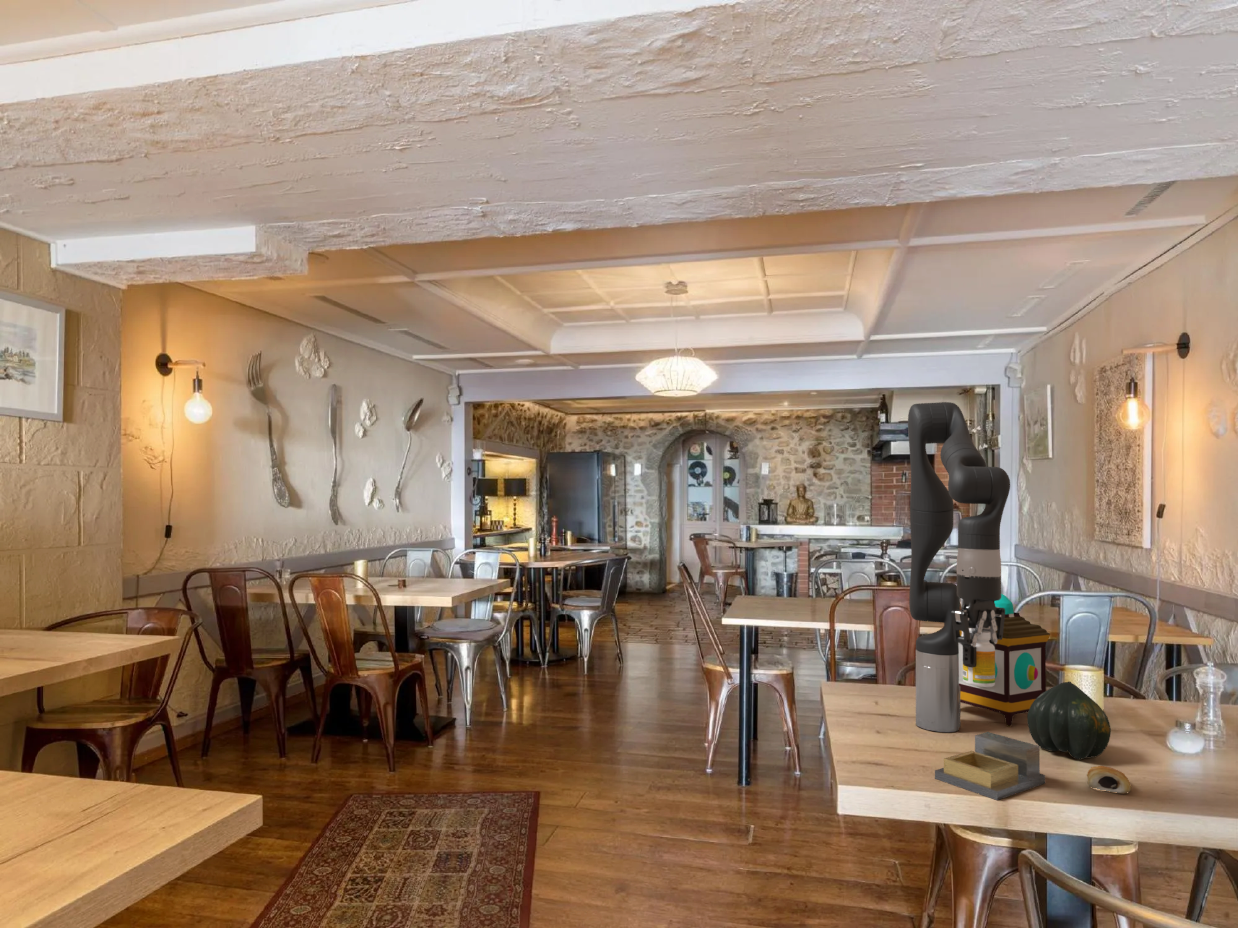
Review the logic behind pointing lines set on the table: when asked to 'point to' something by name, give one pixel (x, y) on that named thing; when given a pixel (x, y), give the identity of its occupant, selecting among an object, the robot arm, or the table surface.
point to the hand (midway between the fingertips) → (978, 664)
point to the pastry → (1108, 779)
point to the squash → (1069, 722)
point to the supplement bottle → (982, 663)
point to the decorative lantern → (1011, 667)
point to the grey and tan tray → (994, 767)
